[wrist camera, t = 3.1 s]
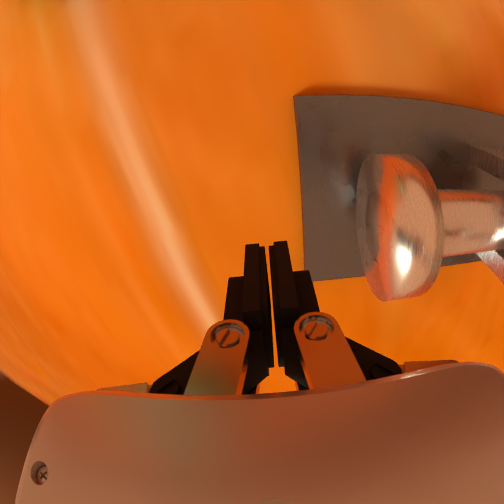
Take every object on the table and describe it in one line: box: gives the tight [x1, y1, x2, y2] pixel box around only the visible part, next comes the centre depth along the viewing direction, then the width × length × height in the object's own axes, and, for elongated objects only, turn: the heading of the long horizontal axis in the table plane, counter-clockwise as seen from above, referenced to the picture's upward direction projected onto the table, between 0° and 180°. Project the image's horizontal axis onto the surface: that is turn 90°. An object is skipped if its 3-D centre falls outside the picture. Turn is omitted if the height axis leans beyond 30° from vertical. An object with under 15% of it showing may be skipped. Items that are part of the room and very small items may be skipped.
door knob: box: [356, 154, 504, 301], centre depth 14 cm, size 14×8×8 cm, turn 97°
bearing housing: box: [293, 95, 504, 284], centre depth 15 cm, size 26×14×10 cm, turn 97°
